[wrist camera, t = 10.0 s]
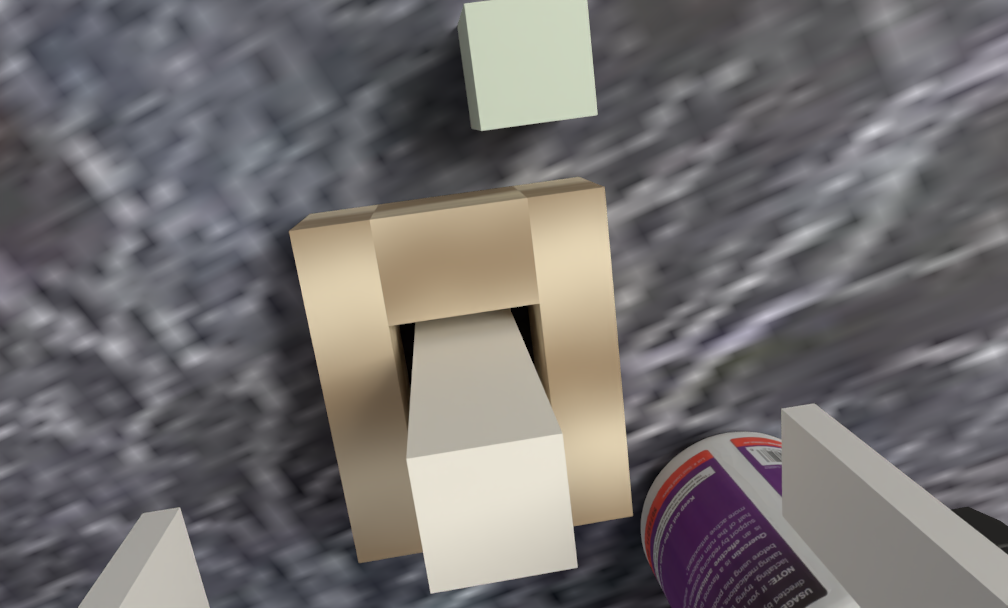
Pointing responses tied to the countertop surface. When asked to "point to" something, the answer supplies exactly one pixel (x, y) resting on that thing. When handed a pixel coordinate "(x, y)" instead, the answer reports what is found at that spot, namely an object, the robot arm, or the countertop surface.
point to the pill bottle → (731, 531)
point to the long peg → (485, 456)
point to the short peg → (526, 62)
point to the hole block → (452, 292)
